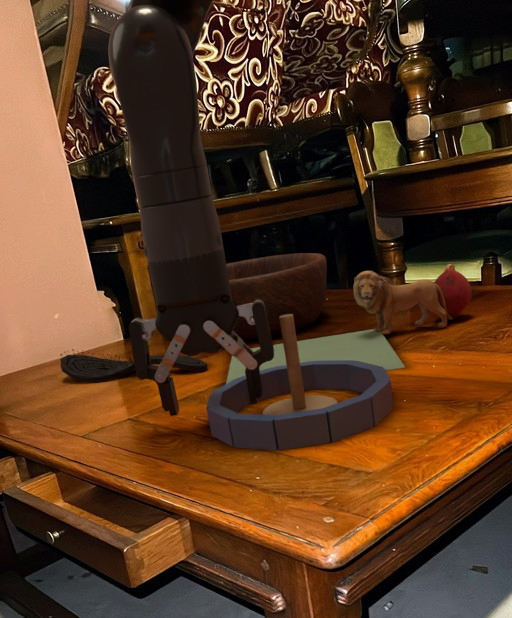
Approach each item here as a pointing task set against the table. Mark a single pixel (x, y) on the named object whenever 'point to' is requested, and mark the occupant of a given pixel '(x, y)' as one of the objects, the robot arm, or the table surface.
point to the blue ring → (304, 424)
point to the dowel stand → (295, 377)
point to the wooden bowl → (279, 289)
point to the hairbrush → (116, 366)
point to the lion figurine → (397, 299)
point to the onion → (454, 291)
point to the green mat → (332, 352)
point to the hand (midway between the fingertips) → (214, 407)
